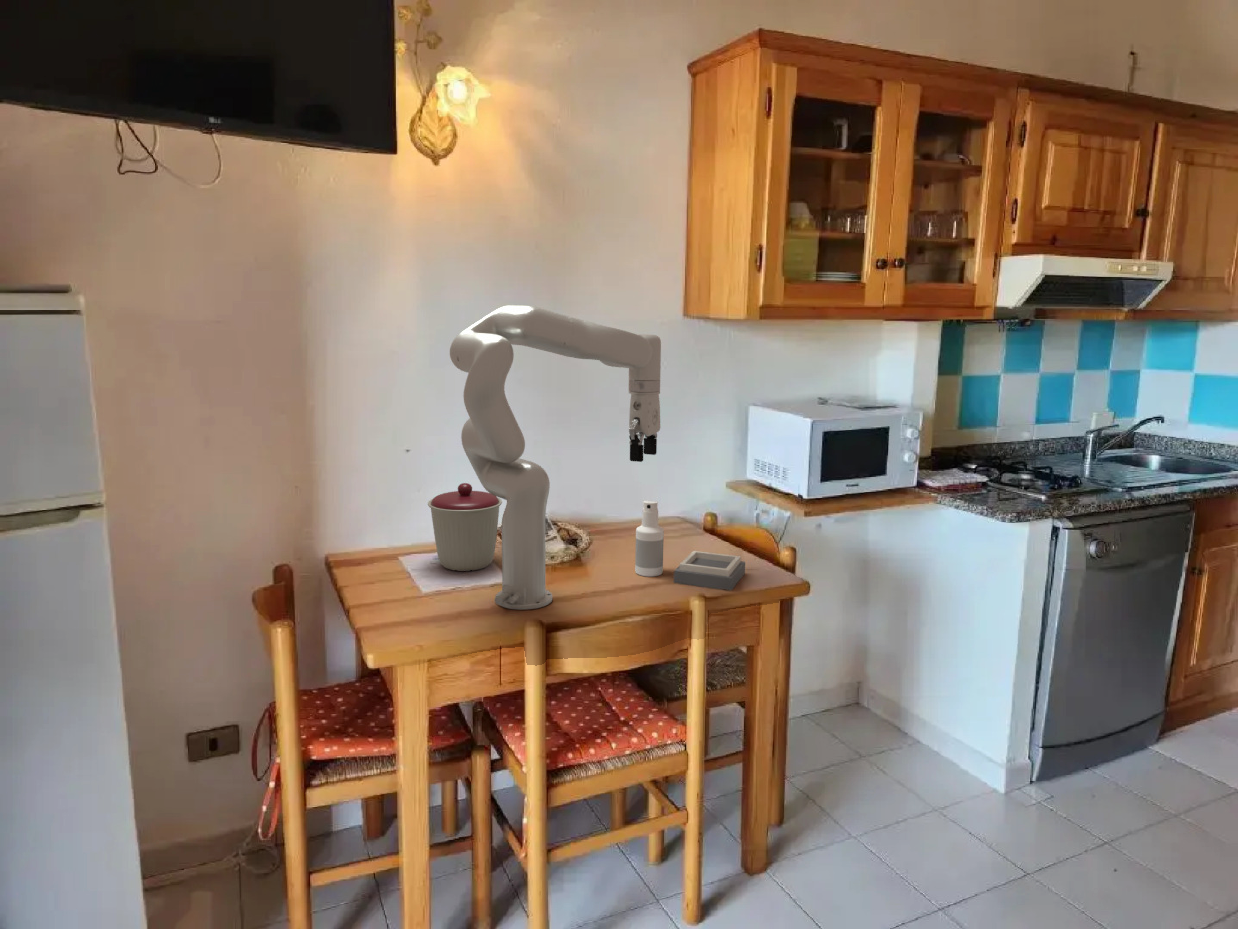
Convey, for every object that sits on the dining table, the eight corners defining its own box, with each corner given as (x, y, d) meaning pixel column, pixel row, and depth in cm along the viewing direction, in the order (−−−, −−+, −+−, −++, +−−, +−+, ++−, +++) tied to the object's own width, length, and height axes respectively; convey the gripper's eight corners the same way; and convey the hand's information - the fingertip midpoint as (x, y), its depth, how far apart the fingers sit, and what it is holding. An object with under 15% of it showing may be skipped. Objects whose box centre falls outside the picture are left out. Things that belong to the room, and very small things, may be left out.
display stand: (731, 590, 198) (732, 572, 197) (673, 582, 202) (674, 564, 202) (744, 573, 210) (745, 555, 210) (690, 566, 215) (690, 549, 214)
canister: (416, 563, 214) (413, 482, 210) (477, 550, 226) (476, 473, 222) (453, 581, 201) (451, 495, 197) (516, 567, 213) (516, 484, 209)
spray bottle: (631, 575, 208) (633, 503, 204) (639, 567, 214) (640, 497, 211) (658, 578, 206) (660, 506, 202) (665, 570, 212) (667, 499, 209)
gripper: (647, 391, 193) (646, 465, 196) (670, 384, 209) (669, 452, 212) (616, 389, 196) (615, 462, 199) (641, 383, 211) (640, 450, 215)
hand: (643, 457), depth 206 cm, fingers open, 9 cm apart
